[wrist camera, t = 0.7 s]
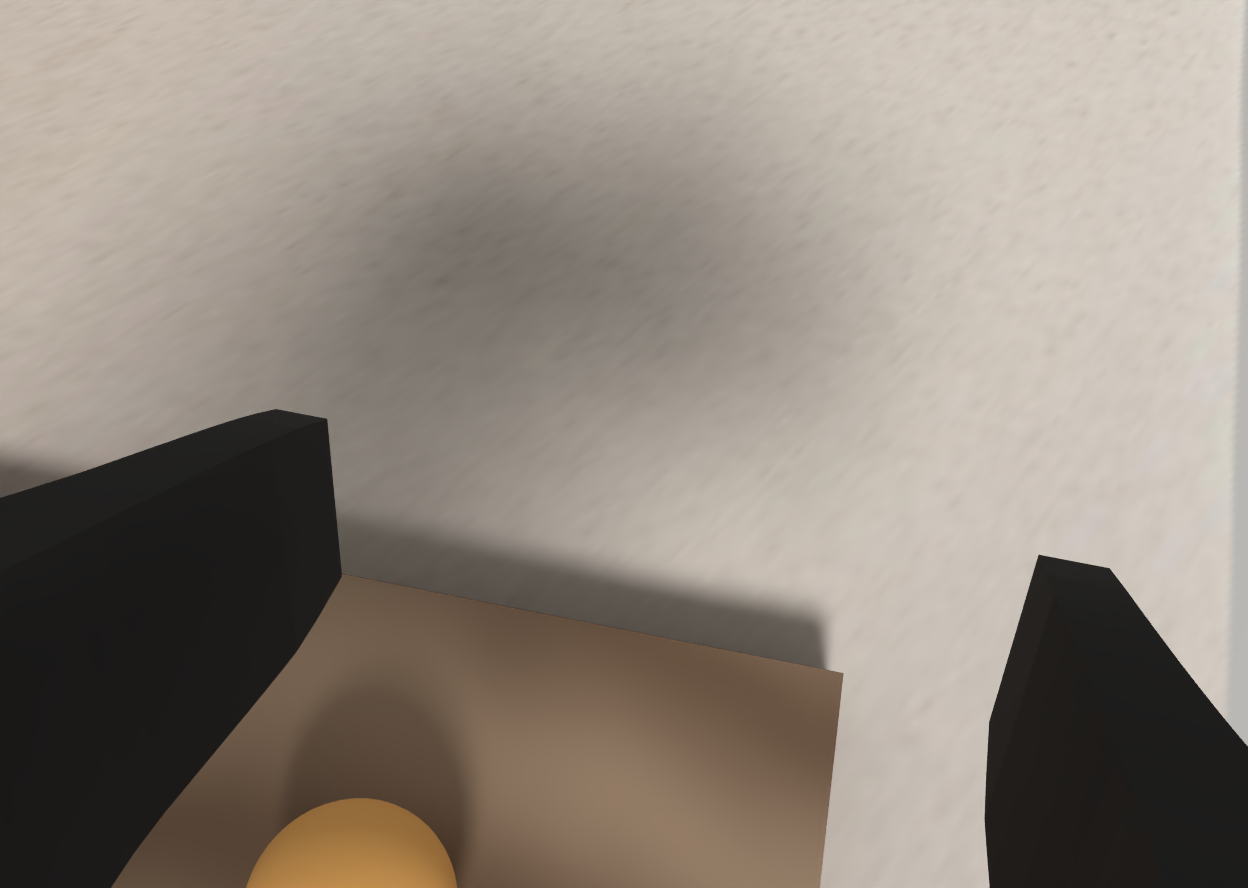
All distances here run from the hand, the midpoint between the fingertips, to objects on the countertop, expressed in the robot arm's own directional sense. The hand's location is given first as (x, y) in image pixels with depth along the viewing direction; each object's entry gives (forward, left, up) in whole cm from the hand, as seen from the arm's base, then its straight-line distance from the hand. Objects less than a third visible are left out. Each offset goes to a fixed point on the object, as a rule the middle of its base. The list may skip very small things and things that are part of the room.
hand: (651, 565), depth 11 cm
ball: (-3, +5, -12) cm, 13 cm away
